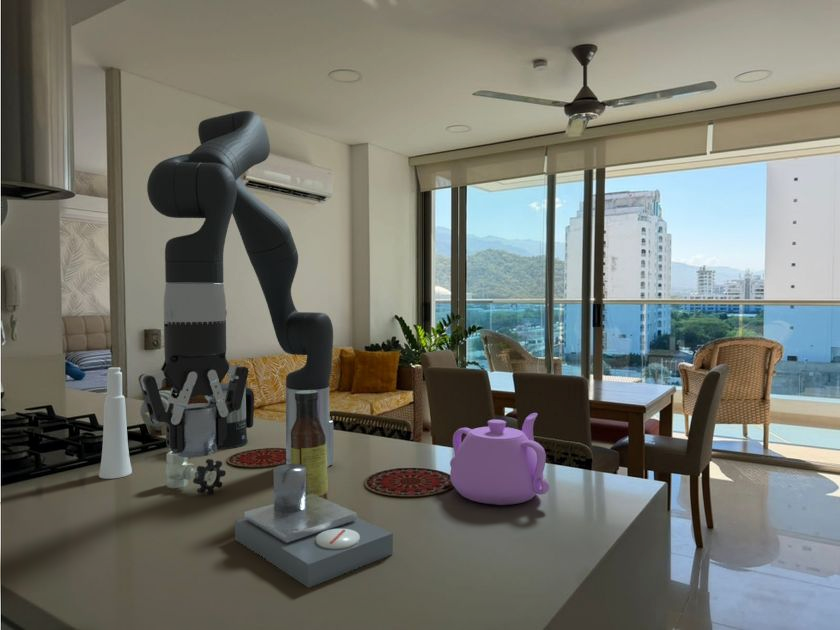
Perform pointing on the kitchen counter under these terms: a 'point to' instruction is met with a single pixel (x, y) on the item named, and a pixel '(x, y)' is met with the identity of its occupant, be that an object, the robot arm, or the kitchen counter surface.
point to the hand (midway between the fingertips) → (197, 447)
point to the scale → (319, 549)
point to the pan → (301, 518)
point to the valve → (192, 473)
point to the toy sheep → (152, 422)
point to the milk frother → (239, 419)
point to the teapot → (498, 463)
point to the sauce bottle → (310, 443)
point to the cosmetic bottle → (115, 430)
